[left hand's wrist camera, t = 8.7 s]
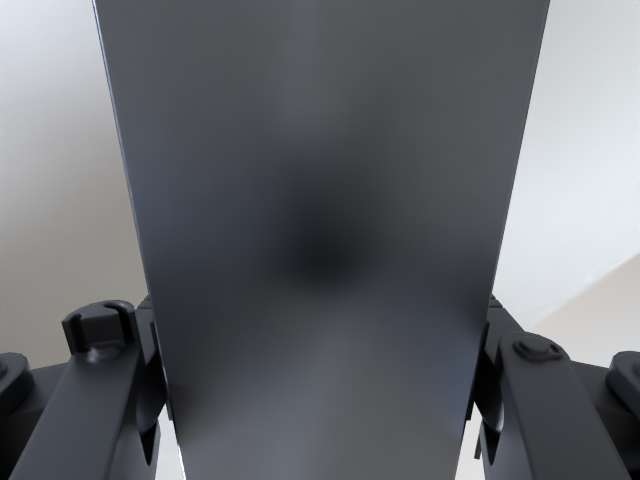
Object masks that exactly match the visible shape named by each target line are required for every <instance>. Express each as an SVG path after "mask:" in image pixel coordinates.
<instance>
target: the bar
mask: <svg viewBox="0 0 640 480" xmlns="http://www.w3.org/2000/svg"><path fill="white" fill-rule="evenodd" d="M92 3H93V8H94V13H95V18H96V23H97V29H98V34H99V39H100V44H101V49H102V55H103V60H104V65H105V70H106V75H107V81H108V86H109V91H110V96H111V101H112V106H113V112H114V117H115V122H116V127H117V132H118V138H119V143H120V148H121V153H122V158H123V164H124V169H125V174H126V179H127V184H128V190H129V195H130V200H131V205H132V210H133V216H134V221H135V226H136V231H137V236H138V242H139V247H140V252H141V257H142V262H143V268H144V273H145V278H146V283H147V288H148V294H149V299H150V304H151V309H152V314H153V320H154V325H155V330H156V335H157V340H158V346H159V351H160V356H161V361H162V366H163V372H164V377H165V382H166V387H167V392H168V398H169V403H170V408H171V413H172V418H173V424H174V429H175V434H176V439H177V444H178V450H179V455H180V460H181V465H182V470H183V476H184V480H455V475H456V470H457V465H458V460H459V455H460V450H461V445H462V440H463V435H464V430H465V425H466V420H467V415H468V410H469V405H470V400H471V395H472V390H473V385H474V380H475V375H476V370H477V365H478V360H479V355H480V350H481V345H482V340H483V335H484V330H485V325H486V320H487V315H488V310H489V305H490V299H491V294H492V289H493V284H494V279H495V274H496V269H497V264H498V259H499V254H500V249H501V244H502V239H503V234H504V229H505V224H506V219H507V214H508V209H509V204H510V199H511V194H512V189H513V184H514V179H515V174H516V169H517V164H518V159H519V154H520V149H521V144H522V139H523V134H524V129H525V124H526V119H527V114H528V109H529V104H530V99H531V94H532V89H533V84H534V79H535V73H536V68H537V63H538V58H539V53H540V48H541V43H542V38H543V33H544V28H545V23H546V18H547V13H548V8H549V3H550V0H92Z"/></svg>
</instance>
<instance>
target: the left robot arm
mask: <svg viewBox="0 0 640 480" xmlns="http://www.w3.org/2000/svg"><path fill="white" fill-rule="evenodd" d="M61 323H62V326H63V329H64V332H65V336H66V339H67V342H68V346H69V349H70V352H71V355H72V356H71V358H70V360H69V362H67V363H63V364H59V365H54V366H49V367H44V368H39V369H34V370H31V369H30V366H29V363H28V360H27V358H26V357H25V356H23V355H22V354H18V353H3V354H0V480H155V474H156V467H157V459H158V451H159V443H160V436H161V433H160V426H159V422H158V416H159V414H160V412H161V410H162V408H163V406H164V404H165V403H166V407H167V412H168V417H169V420H173V418H172V413H171V408H170V403H169V398H168V392H167V387H166V382H165V377H164V372H163V366H162V361H161V356H160V351H159V346H158V340H157V335H156V330H155V325H154V320H153V314H152V309H151V304H150V299H149V294H148V295H147V297H146V298H145V299H144V301H142V302H141V303H140V305H139V306H138V307H137V309H135V310H134V306H133V305H132V304H130V303H129V302H126V301H121V300H107V301H102V302H97V303H93V304H90V305H87V306H85V307H82V308H79V309H78V310H76V311H74V312H72V313H71V314H69V315H68V316H67V317H66V318H65V319H64V320H63V321H62V322H61ZM474 401H475V403H476V405H477V407H478V409H479V411H480V413H481V415H482V422H481V426H480V431H479V435H478V440H477V445H476V449H475V456H474V458H475V459H480V454H481V451H482V458H483V466H484V473H485V480H640V352H635V351H624V352H619V353H617V354H616V355H614V356H613V359H612V362H611V364H610V367H609V368H605V367H600V366H595V365H590V364H585V363H580V362H575V361H571V360H570V358H569V356H568V354H567V353H566V352H565V351H564V349H563V348H562V347H560V346H559V345H558V344H556V343H555V342H553V341H552V340H550V339H547V338H545V337H543V336H540V335H537V334H533V333H529V332H525V331H524V330H523V329H522V328H521V327H520V325H519V324H518V323H517V322H516V321H515V320H514V318H513V317H512V316H511V315H510V314H509V313H508V312H507V310H506V309H505V308H503V306H502V305H501V303H500V302H499V301H498V300H496V299H495V297H494V295H493V294H491V299H490V305H489V310H488V315H487V320H486V325H485V330H484V335H483V340H482V345H481V350H480V355H479V360H478V365H477V370H476V375H475V380H474V385H473V390H472V395H471V400H470V405H469V410H468V415H467V420H471V415H472V410H473V405H474Z"/></svg>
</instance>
